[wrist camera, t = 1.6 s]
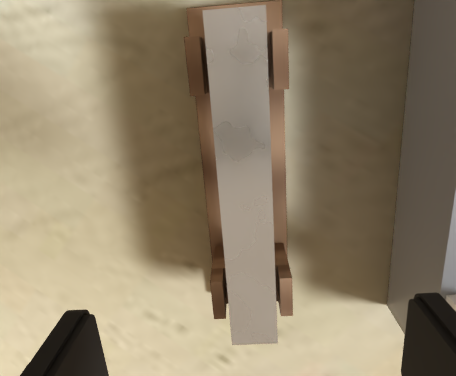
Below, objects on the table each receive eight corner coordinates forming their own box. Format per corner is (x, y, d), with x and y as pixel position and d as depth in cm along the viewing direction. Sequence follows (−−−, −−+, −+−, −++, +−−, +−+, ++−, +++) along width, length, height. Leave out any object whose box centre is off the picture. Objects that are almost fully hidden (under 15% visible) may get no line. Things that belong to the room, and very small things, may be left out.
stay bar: (207, 17, 20) (202, 10, 17) (261, 13, 19) (265, 4, 17) (232, 314, 26) (232, 345, 23) (273, 312, 26) (277, 343, 23)
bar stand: (188, 10, 23) (173, -6, 18) (280, 2, 23) (293, -17, 18) (216, 293, 30) (212, 342, 25) (286, 290, 30) (297, 338, 25)
